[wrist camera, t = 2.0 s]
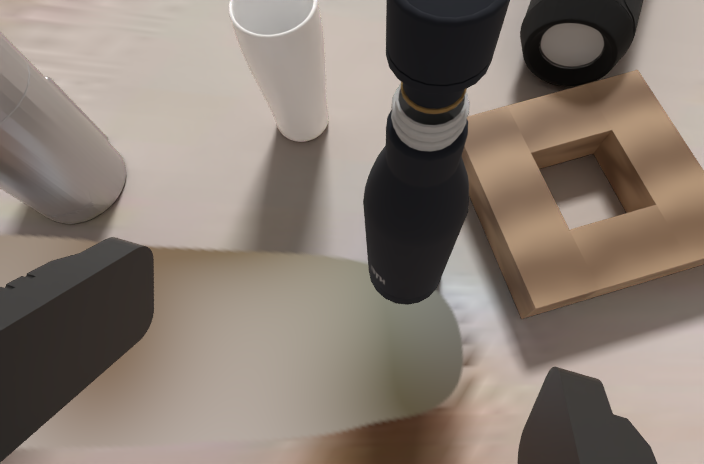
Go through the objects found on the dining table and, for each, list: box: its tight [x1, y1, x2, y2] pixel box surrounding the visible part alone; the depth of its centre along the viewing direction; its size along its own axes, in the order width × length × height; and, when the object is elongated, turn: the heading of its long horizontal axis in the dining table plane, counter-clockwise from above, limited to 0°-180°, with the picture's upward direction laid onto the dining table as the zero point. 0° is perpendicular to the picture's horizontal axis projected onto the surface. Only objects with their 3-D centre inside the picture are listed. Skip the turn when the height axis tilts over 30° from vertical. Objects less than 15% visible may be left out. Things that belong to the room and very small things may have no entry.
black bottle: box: [363, 0, 510, 304], centre depth 28 cm, size 6×6×30 cm
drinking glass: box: [229, 0, 329, 142], centre depth 42 cm, size 7×7×15 cm
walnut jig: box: [462, 70, 704, 319], centre depth 42 cm, size 18×18×4 cm
